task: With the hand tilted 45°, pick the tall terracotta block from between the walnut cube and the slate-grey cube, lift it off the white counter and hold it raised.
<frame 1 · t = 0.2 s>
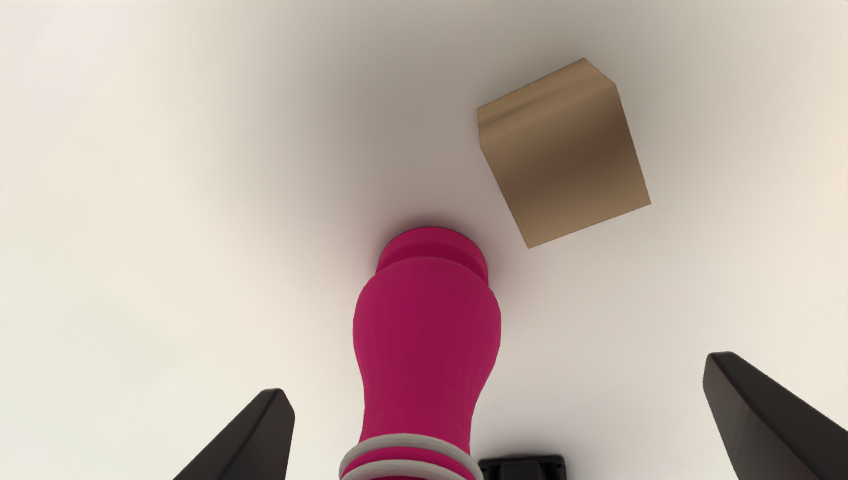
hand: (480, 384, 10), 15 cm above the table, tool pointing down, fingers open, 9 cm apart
pepper mill: (432, 270, 27), on the table
walnut cube: (547, 132, 22), on the table
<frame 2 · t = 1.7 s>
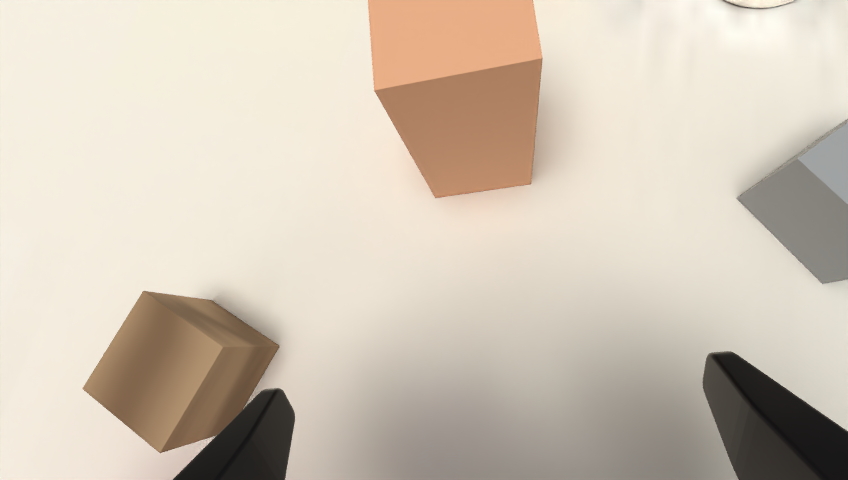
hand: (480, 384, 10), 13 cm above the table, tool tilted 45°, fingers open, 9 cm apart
terracotta block: (476, 147, 25), on the table
slate cube: (822, 207, 21), on the table
walnut cube: (221, 363, 25), on the table
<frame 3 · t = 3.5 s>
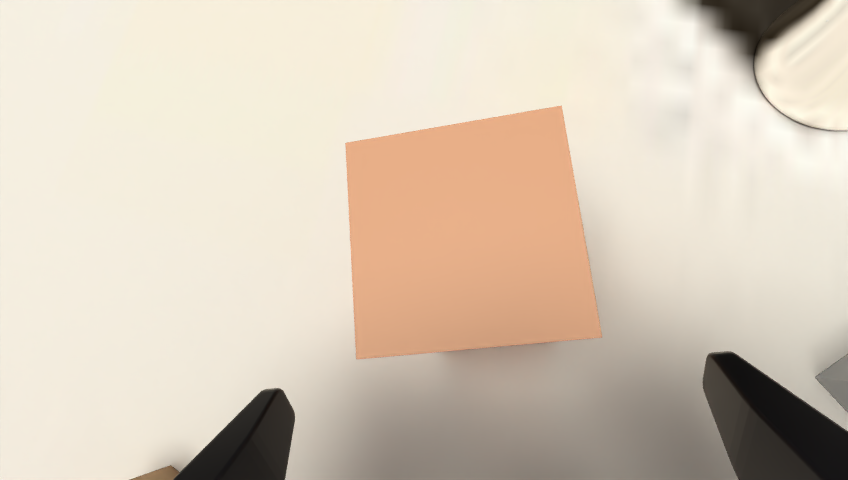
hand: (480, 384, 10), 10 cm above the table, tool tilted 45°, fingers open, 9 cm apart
terracotta block: (489, 289, 20), on the table
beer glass: (829, 68, 20), on the table
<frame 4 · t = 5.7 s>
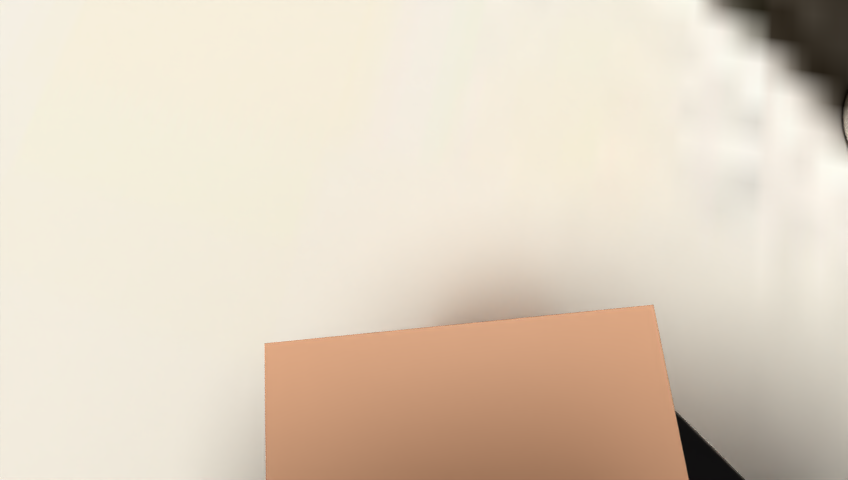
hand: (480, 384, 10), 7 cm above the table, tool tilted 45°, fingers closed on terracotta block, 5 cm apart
terracotta block: (499, 409, 16), on the table, touching gripper
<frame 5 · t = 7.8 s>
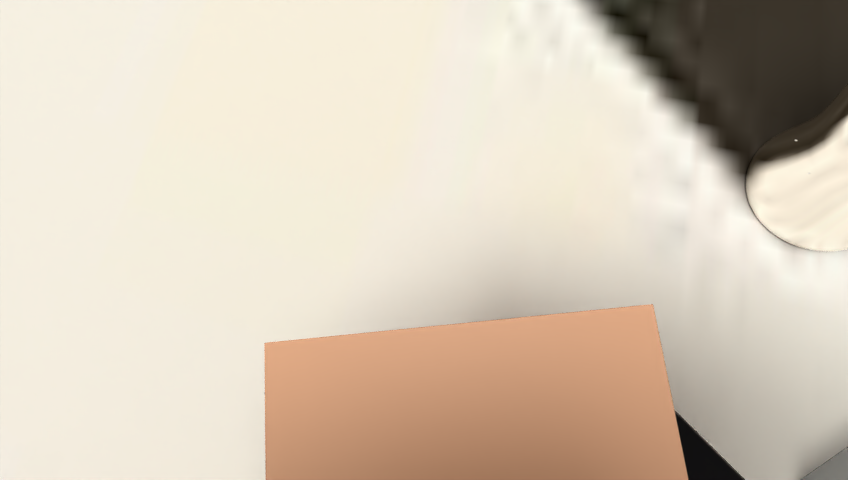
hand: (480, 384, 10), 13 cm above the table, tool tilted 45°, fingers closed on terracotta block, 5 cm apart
terracotta block: (499, 408, 16), point 7 cm above the table, touching gripper
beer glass: (813, 190, 22), on the table
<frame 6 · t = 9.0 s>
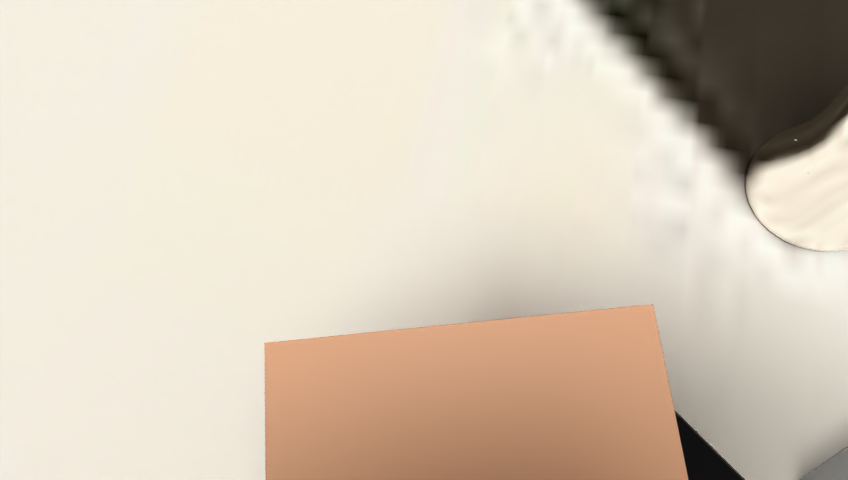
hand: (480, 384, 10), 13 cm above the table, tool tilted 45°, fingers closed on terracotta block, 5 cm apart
terracotta block: (499, 408, 16), point 7 cm above the table, touching gripper
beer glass: (813, 189, 22), on the table
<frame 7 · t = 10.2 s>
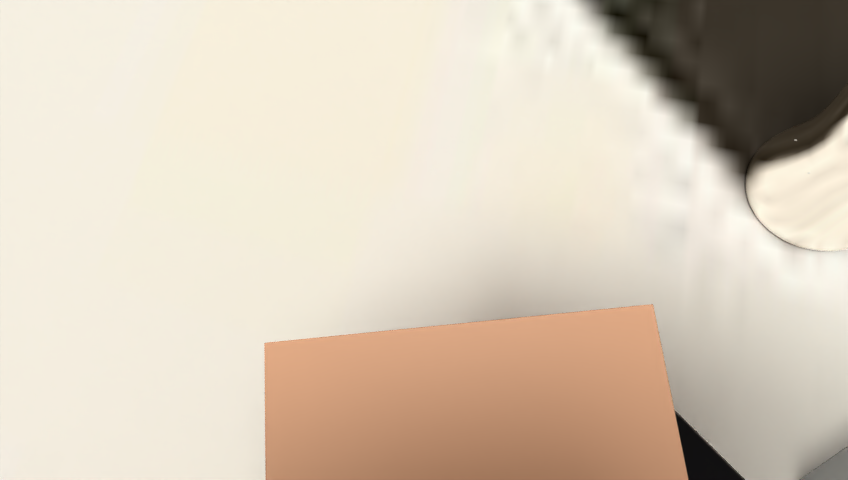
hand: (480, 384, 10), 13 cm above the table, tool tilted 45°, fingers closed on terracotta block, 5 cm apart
terracotta block: (499, 408, 16), point 7 cm above the table, touching gripper
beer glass: (813, 189, 22), on the table
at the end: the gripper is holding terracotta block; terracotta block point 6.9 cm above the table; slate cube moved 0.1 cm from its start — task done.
